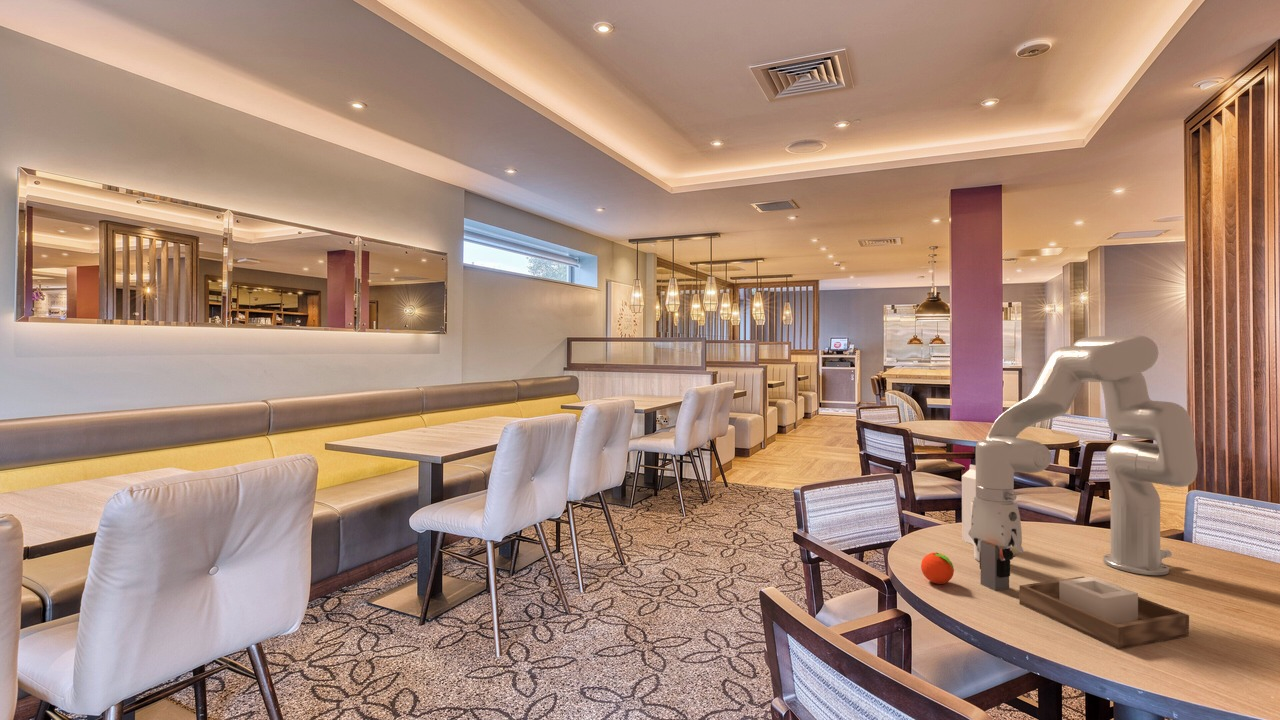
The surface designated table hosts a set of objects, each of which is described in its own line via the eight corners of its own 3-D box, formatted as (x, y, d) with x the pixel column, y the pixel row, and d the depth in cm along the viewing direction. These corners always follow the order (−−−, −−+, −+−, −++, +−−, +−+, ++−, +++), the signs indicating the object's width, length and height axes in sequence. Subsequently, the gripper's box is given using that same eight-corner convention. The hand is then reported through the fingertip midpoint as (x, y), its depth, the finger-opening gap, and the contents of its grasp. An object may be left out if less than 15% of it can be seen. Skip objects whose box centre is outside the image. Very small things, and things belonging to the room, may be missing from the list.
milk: (979, 547, 160) (978, 468, 160) (961, 540, 166) (961, 464, 166) (996, 545, 162) (995, 467, 162) (978, 538, 168) (977, 463, 168)
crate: (1083, 594, 128) (1083, 576, 128) (1189, 636, 109) (1189, 615, 109) (1019, 603, 124) (1019, 585, 124) (1118, 649, 104) (1118, 627, 104)
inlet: (1091, 601, 123) (1091, 576, 123) (1137, 620, 114) (1137, 593, 114) (1059, 606, 121) (1059, 581, 121) (1103, 626, 112) (1103, 598, 112)
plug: (994, 582, 136) (994, 535, 136) (1009, 588, 132) (1009, 540, 132) (980, 584, 135) (980, 537, 134) (995, 590, 131) (995, 542, 131)
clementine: (965, 587, 133) (964, 556, 133) (943, 592, 130) (943, 561, 130) (935, 575, 140) (935, 546, 140) (914, 579, 137) (914, 550, 137)
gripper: (1040, 501, 126) (1041, 584, 126) (977, 485, 142) (977, 559, 142) (1013, 504, 124) (1013, 588, 124) (952, 487, 140) (953, 562, 140)
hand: (994, 572), depth 133 cm, fingers closed on plug, 4 cm apart
